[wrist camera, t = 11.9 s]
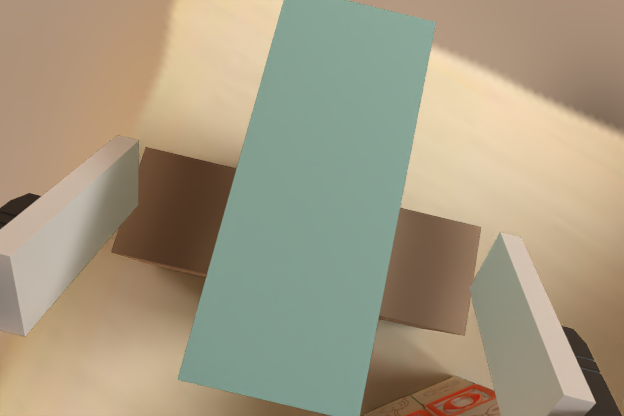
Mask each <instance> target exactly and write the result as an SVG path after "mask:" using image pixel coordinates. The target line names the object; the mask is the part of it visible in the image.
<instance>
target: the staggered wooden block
mask: <svg viewBox="0 0 624 416" xmlns="http://www.w3.org/2000/svg"><path fill="white" fill-rule="evenodd" d="M235 173H236V168H231V167H227V166H223V165H219V164H215V163H211V162H206V161H202V160H198V159H194V158H190V157H185V156H181V155H177V154H173V153H169V152H165V151H160V150H156V149H152V148H148V147H146V148H145V151H144V154H143V157H142V160H141V163H140V166H139V171H138V206H137V207H136V208H135V209H134V210H133V211H132V213H131V214H130V215H129V216H128V217H127V218H126V220H125V221H124V222H123V223H122V224H121V225H120V227H119V230H118V233H117V236H116V239H115V242H114V245H113V248H112V251H111V252H112V253H116V254H119V255H122V256H126V257H129V258H132V259H135V260H139V261H142V262H145V263H148V264H152V265H155V266H159V267H163V268H167V269H172V270H176V271H180V272H184V273H189V274H193V275H197V276H201V277H206V276H207V273H208V269H209V266H210V262H211V258H212V255H213V251H214V248H215V244H216V241H217V237H218V233H219V230H220V226H221V223H222V219H223V216H224V212H225V208H226V205H227V201H228V198H229V194H230V191H231V187H232V183H233V180H234V176H235ZM480 232H481V227H478V226H474V225H470V224H466V223H461V222H457V221H453V220H449V219H445V218H441V217H436V216H432V215H428V214H424V213H420V212H415V211H411V210H407V209H403V208H400V210H399V216H398V221H397V226H396V231H395V236H394V241H393V247H392V252H391V257H390V262H389V267H388V272H387V278H386V283H385V288H384V293H383V298H382V303H381V308H380V314H379V319H383V320H388V321H392V322H396V323H400V324H405V325H409V326H413V327H417V328H422V329H428V330H434V331H440V332H446V333H452V334H458V335H464V336H465V331H466V324H467V318H468V311H469V305H470V298H471V293H470V289H469V288H470V286H471V284H472V283H473V278H474V271H475V265H476V258H477V251H478V245H479V238H480Z"/></svg>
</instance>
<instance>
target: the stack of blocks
mask: <svg viewBox="0 0 624 416" xmlns="http://www.w3.org/2000/svg"><path fill="white" fill-rule="evenodd" d="M363 416H501V415H500V411H499V407H498V403H497V399H496V395H495V391H493V390H491V389H488V388H486V387H483V386H481V385H478V384H475V383H473V382H470V381H467V380H465V379H462V378H460V377H457V376H454V377H451V378H449V379H447V380H444V381H442V382H440V383H437V384H435V385H433V386H430V387H428V388H425V389H423V390H421V391H418V392H416V393H413V394H412V395H409V396H405V397H403V398H400V399H398V400H395V401H393V402H391V403H388V404H386V405H384V406H381V407H379V408H377V409H375V410H373V411H371V412H369V413H367V414H365V415H363Z"/></svg>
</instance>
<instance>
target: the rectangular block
mask: <svg viewBox="0 0 624 416" xmlns="http://www.w3.org/2000/svg"><path fill="white" fill-rule="evenodd" d="M435 25H436V22H433V21H429V20H425V19H421V18H417V17H413V16H409V15H405V14H400V13H396V12H392V11H388V10H384V9H380V8H376V7H372V6H367V5H364V4H360V3H355V2H352V1H347V0H284V1H283V5H282V8H281V12H280V16H279V19H278V23H277V26H276V30H275V33H274V37H273V41H272V44H271V48H270V51H269V55H268V58H267V62H266V66H265V69H264V73H263V76H262V80H261V83H260V87H259V91H258V94H257V98H256V101H255V105H254V108H253V112H252V116H251V119H250V123H249V126H248V130H247V133H246V137H245V141H244V144H243V148H242V151H241V155H240V158H239V162H238V166H237V169H236V173H235V176H234V180H233V183H232V187H231V191H230V194H229V198H228V201H227V205H226V208H225V212H224V216H223V219H222V223H221V226H220V230H219V233H218V237H217V241H216V244H215V248H214V251H213V255H212V258H211V262H210V266H209V269H208V273H207V276H206V280H205V283H204V287H203V291H202V294H201V298H200V301H199V305H198V308H197V312H196V316H195V319H194V323H193V326H192V330H191V333H190V337H189V341H188V344H187V348H186V351H185V355H184V358H183V362H182V366H181V369H180V373H179V376H178V380H181V381H185V382H190V383H194V384H198V385H202V386H207V387H211V388H215V389H219V390H224V391H228V392H232V393H236V394H241V395H245V396H249V397H253V398H258V399H262V400H266V401H271V402H275V403H279V404H283V405H288V406H292V407H296V408H300V409H305V410H309V411H313V412H317V413H322V414H326V415H330V416H360V412H361V407H362V401H363V396H364V391H365V386H366V381H367V376H368V370H369V365H370V360H371V355H372V350H373V345H374V339H375V334H376V329H377V324H378V319H379V314H380V308H381V303H382V298H383V293H384V288H385V283H386V278H387V272H388V267H389V262H390V257H391V252H392V247H393V241H394V236H395V231H396V226H397V221H398V216H399V210H400V205H401V200H402V195H403V190H404V185H405V179H406V174H407V169H408V164H409V159H410V154H411V148H412V143H413V138H414V133H415V128H416V123H417V117H418V112H419V107H420V102H421V97H422V92H423V86H424V81H425V76H426V71H427V66H428V61H429V56H430V50H431V45H432V40H433V35H434V30H435Z"/></svg>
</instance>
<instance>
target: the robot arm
mask: <svg viewBox="0 0 624 416" xmlns="http://www.w3.org/2000/svg"><path fill="white" fill-rule="evenodd" d="M138 171H139V140H135V139H131V138H127V137H123V136H119V135H117V136H116V137H114V138H113V139H112V140H111V141H110V142H109V143H107V144H106V145H104V146H103V147H102V148H101V149H100V150H98V151H97V152H96V153H95V154H93V155H92V156H91V157H90V158H88V159H87V160H86V161H85V162H83V163H82V164H81V165H80V166H79V167H77V168H76V169H75V170H73V171H72V172H71V173H70V174H69V175H67V176H66V177H65V178H64V179H62V180H61V181H60V182H59V183H57V184H56V185H55V186H54V187H53V188H51V189H50V190H49V191H47V192H46V193H45V194H44V195H43V196H38V195H34V194H30V193H29V194H26V195H24V196H21V197H18V198H16V199H13V200H11V201H9V202H8V203H7V204H5V205H4V206H3V207H1V208H0V330H1V331H5V332H9V333H13V334H17V335H21V336H26V335H27V334H28V333H29V332H30V330H31V329H32V328H33V327H34V326H35V325H36V323H37V322H38V321H39V320H40V319H41V318H42V316H43V315H44V314H45V313H46V312H47V311H48V309H49V308H50V307H51V306H52V305H53V304H54V302H55V301H56V300H57V299H58V298H59V297H60V295H61V294H62V293H63V292H64V291H65V290H66V288H67V287H68V286H69V285H70V284H71V283H72V281H73V280H74V279H75V278H76V277H77V276H78V274H79V273H80V272H81V271H82V270H83V269H84V267H85V266H86V265H87V264H88V263H89V262H90V260H91V259H92V258H93V257H94V256H95V255H96V253H97V252H98V251H99V250H100V249H101V248H102V246H103V245H104V244H105V243H106V242H107V241H108V239H109V238H110V237H111V236H112V235H113V234H114V232H115V231H116V230H117V229H118V228H119V227H120V225H121V224H122V223H123V222H124V221H125V220H126V218H127V217H128V216H129V215H130V214H131V213H132V211H133V210H134V209H135V208H136V207H137V206H138ZM469 289H470V293H471V297H472V301H473V305H474V309H475V313H476V317H477V321H478V326H479V330H480V334H481V338H482V342H483V346H484V350H485V354H486V358H487V362H488V366H489V370H490V374H491V378H492V382H493V386H494V390H495V395H496V399H497V403H498V407H499V411H500V415H501V416H622V415H621V413H620V411H619V409H618V407H617V405H616V403H615V401H614V399H613V397H612V395H611V393H610V391H609V389H608V387H607V385H606V383H605V381H604V379H603V377H602V375H601V374H599V372H600V371H599V369H598V367H597V365H596V363H595V362H593V360H594V359H593V357H592V355H591V352H590V350H589V348H588V346H587V344H586V343H585V342H584V341H583V340H582V339H581V337H580V336H579V335H578V334H577V333H576V332H575V331H574V329H571V328H567V327H563V326H561V324H560V322H559V320H558V318H557V315H556V313H555V311H554V309H553V307H552V304H551V302H550V300H549V298H548V296H547V293H546V291H545V289H544V287H543V284H542V282H541V280H540V278H539V276H538V273H537V271H536V269H535V267H534V265H533V262H532V260H531V258H530V256H529V253H528V251H527V249H526V247H525V245H524V242H523V240H522V238H521V237H518V236H514V235H510V234H506V233H502V232H500V233H499V235H498V237H497V239H496V241H495V243H494V244H493V246H492V248H491V250H490V252H489V253H488V255H487V257H486V259H485V261H484V263H483V264H482V266H481V268H480V270H479V272H478V273H477V275H476V277H475V279H474V281H473V283H472V284H471V286H470V288H469Z"/></svg>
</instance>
